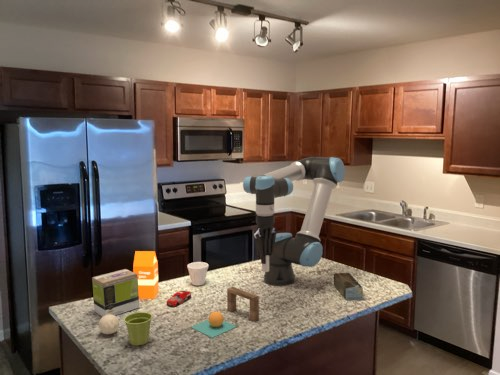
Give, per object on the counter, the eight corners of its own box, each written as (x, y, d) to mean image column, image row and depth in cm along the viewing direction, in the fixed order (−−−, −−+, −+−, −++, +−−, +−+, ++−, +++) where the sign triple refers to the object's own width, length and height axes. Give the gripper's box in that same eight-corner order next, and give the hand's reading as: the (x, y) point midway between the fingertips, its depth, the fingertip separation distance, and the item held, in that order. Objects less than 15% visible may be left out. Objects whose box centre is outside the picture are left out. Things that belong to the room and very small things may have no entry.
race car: (174, 309, 173) (174, 299, 172) (164, 306, 175) (163, 297, 175) (193, 298, 184) (193, 289, 184) (183, 295, 187) (183, 287, 186)
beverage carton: (344, 301, 180) (345, 286, 179) (332, 285, 199) (333, 272, 198) (363, 300, 181) (363, 285, 180) (349, 285, 200) (349, 271, 199)
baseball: (103, 340, 146) (102, 321, 145) (96, 332, 152) (96, 314, 151) (122, 334, 150) (121, 316, 149) (115, 327, 156) (114, 309, 155)
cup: (183, 286, 198) (183, 266, 197) (193, 279, 207) (193, 261, 206) (203, 288, 195) (202, 269, 193) (212, 281, 204) (212, 263, 203)
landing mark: (215, 317, 164) (215, 316, 164) (236, 326, 156) (236, 326, 156) (190, 327, 155) (190, 326, 155) (212, 338, 147) (212, 337, 147)
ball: (204, 325, 155) (215, 324, 159) (214, 329, 151) (225, 328, 155) (207, 310, 156) (217, 309, 160) (217, 314, 152) (227, 313, 156)
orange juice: (139, 292, 191) (137, 248, 188) (158, 292, 190) (157, 248, 188) (134, 298, 183) (132, 253, 180) (154, 298, 183) (152, 253, 180)
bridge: (232, 308, 172) (232, 286, 171) (258, 319, 162) (258, 295, 161) (227, 310, 170) (227, 288, 169) (253, 321, 160) (253, 298, 159)
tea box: (127, 301, 180) (126, 267, 178) (139, 308, 173) (138, 273, 171) (93, 311, 169) (91, 276, 168) (104, 319, 162) (103, 282, 160)
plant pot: (118, 345, 142) (117, 321, 141) (136, 333, 151) (135, 310, 150) (142, 350, 139) (141, 325, 137) (158, 338, 147) (157, 314, 146)
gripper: (261, 218, 163) (261, 276, 167) (282, 213, 173) (282, 268, 176) (247, 215, 169) (247, 272, 172) (268, 210, 178) (269, 265, 181)
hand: (265, 270), depth 174 cm, fingers closed
